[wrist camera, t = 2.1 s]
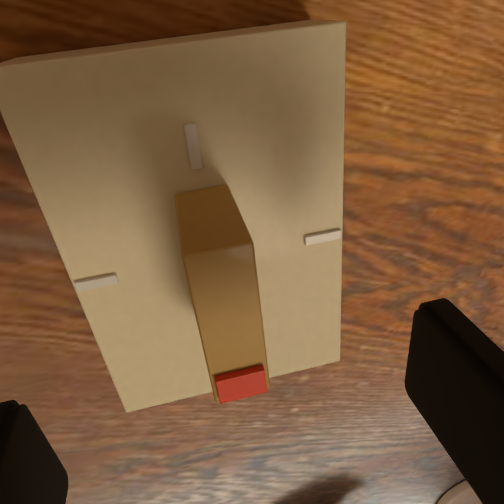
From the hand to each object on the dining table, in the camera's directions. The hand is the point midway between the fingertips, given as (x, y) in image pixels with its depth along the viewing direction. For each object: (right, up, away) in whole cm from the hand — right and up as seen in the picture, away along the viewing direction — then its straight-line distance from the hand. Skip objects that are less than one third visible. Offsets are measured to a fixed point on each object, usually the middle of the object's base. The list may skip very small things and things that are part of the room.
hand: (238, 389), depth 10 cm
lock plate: (-2, +5, +7) cm, 9 cm away
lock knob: (-1, +3, +5) cm, 6 cm away
